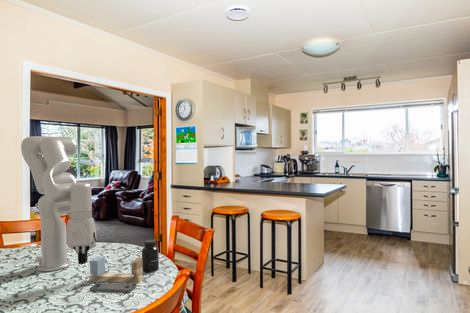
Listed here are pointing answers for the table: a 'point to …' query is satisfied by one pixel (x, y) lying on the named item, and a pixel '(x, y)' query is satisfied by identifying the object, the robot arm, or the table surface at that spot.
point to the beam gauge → (131, 278)
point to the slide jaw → (97, 267)
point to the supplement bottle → (150, 256)
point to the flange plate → (113, 287)
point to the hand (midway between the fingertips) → (82, 262)
